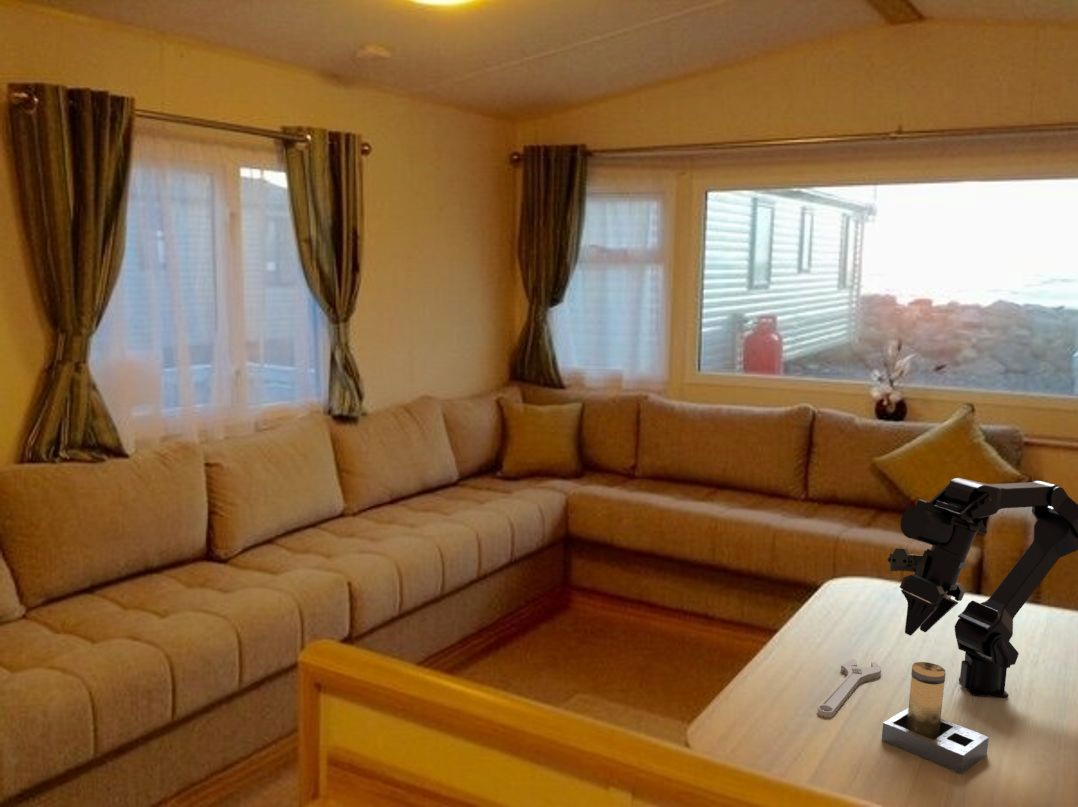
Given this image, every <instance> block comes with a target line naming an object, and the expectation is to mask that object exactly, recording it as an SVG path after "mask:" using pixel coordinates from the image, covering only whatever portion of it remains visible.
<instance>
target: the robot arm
mask: <svg viewBox="0 0 1078 807" xmlns="http://www.w3.org/2000/svg"><path fill="white" fill-rule="evenodd" d="M1011 508H1012V509H1014V508H1015V509H1016V508H1018V509H1019V508H1031V513H1032V515H1033V516H1034V518H1035V519H1036V521H1035V523H1034V524H1033V540H1032V542H1031V544H1029V546H1028V547H1027V549H1026V550H1025V552H1023V554H1022V555H1021V557H1020V558H1019V559H1018V561H1016V563H1015V564H1014V566H1013V567H1012V568H1011V569H1010V571H1009V572H1008V573H1007V575H1006V576H1005V577H1004V579H1003V580H1002V581H1001V582H1000V583H999V585H998V586H997V588H996V589H995V590H994V591H993V592H992V594H991V596H990V597H989V598H988V599H987V600H985V601H983V602H981V603H980V602H978V601H977V600H971V601H970V602H968V603H967V605H966V606H965V608H964V610H963V611H962V612H961V613H960V614H958V615H957V617H958V619H957V621H956V623H955V624H954V633H955V634H954V636H955V639H956V645H957V648H958V650H960V651H963V652H965V653H964V660H961V664H960V665H961V666H960V675H959V677H958V681H959V683H960V684H961V685H962V686H963V687H964V688H965V690H967V692H968V693H969V694H970V695H971V696H972V697H973V696H974V697H976V696H977V697H988V698H989V697H992V698H1009V693H1008V692H1007V691H1006V689H1005V688H1006V680H1007V679H1006V678H1007V672H1008V669H1010V668H1011V666H1013V665H1015V664H1016V662H1017V660H1018V657H1019V652H1018V651H1017V649H1016V648H1015V647H1014V645H1013V643H1011V641H1010V640H1011V639H1012V637H1013V636H1014V635H1013V634H1014V619H1015V617H1016V615H1017V614H1018V612H1019V611H1020V610H1021V609H1022V607H1023V606H1024V605H1025V604H1026V602H1027V601H1028V599H1029V598H1030V597H1031V595H1033V593H1034V591H1035V590H1037V588H1038V586H1039V585H1040V584H1041V582H1042V581H1043V580H1044V579H1045V578H1046V576H1047V575H1048V574H1049V572H1050V571H1051V570H1052V568H1054V566H1055V564H1056V563H1057V562H1058V560H1059V559H1061V558H1063V557H1065V556H1068V555H1070V554H1073V553H1074V552H1077V551H1078V503H1076V502H1075V501H1074V500H1073V499H1072V498H1071V497H1070V496H1069V495H1068V494H1067V493H1066V491H1065V489H1064V488H1063V487H1061V486H1060V485H1058V484H1054V483H1050V482H1047V481H1042V480H1034V481H1032V482H1030V481H1028V482H1011V483H1010V482H1009V483H985V482H980V481H976V480H972V479H966V478H961V477H956V478H955V477H954V478H953V479H950V481H949V483H948V485H946V486H945V487H944V488H943V489H942V490H941V491H940V492H939V493H937V494H936V495H935V496H934V497H933V498H932V499H931V500H929V501H926V500H922V499H918V500H916V503H915V505H913V506H910V507H909V508H908V509H907V510H906V511H905V512H904V513H903V514H902V516H901V519H900V525H899V526H900V531H901V533H902V534H903V535H904V536H905V538H907V539H911V540H914V541H917V542H921V543H924V544H928V545H931V547H930V548H927V549H925V550H924V552H923V554H913V553H912V554H911V553H909V550H908V549H907V548H897V547H896V548H895V549H894V551H893V552H890V553H889V557H888V558H887V562H888V563H889V571H890V572H898V571H899V572H912V573H914V574H909V575H907V576H904V577H903V578H902V579H901V583H900V585H899V588H900V589H901V590H900V591H901V594H902V595H903V597H905V599H906V601H907V609H906V618H905V626H904V633H905V634H906V635H908V636H913V635H914V633H915V632H916V631H918V630H920V631H921V632H923V633H927V632H928V631H929V630H930V629H931V628H932V627H933V626H935V625H936V624H937V623H938V622H939V621H940V620H941V619H942V618H943V617H944V616H946V615H947V614H948V613H949V612H950V611H952V609H953V608H954V607H956V606H958V604H959V602H960V601H962V600H963V598H964V595H965V593H966V589H965V587H964V585H963V584H962V583H960V582H958V579H959V576H960V574H961V571H962V570H963V569H966V567H967V566H968V565H967V564H968V562H966V560H967V557H968V555H969V553H970V550H971V547H972V545H973V543H974V540H975V538H976V536H977V533H979V534H982V535H987V533H988V532H987V528H986V527H985V525H984V523H983V518H986V517H991V516H994V515H996V514H997V513H998V512H999V511H1000V510H1002V509H1011ZM952 598H954V599H952Z"/></svg>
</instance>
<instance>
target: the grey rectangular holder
mask: <svg viewBox="0 0 1078 807" xmlns="http://www.w3.org/2000/svg"><path fill="white" fill-rule="evenodd" d="M908 709H909V706H908V707H907V708H905V709H904V710H902V711H901V712H898V713H897V714H895V715H894V716H892V717H890V718H889V719H887V720H885V721H883V723H882V732H881V733H882V734H881V741H883V742H884V743H887V744H889V745H892V746H894V747H896V748H898V749H901V750H904V751H906V752H908V753H910V754H913V755H915V756H918V757H920V758H922V759H925V760H927V761H930V762H932V763H934V764H936V765H940V766H941V767H944V768H946V769H948V770H951V771H953V772H954V773H955V772H956V773H958V774H960V775H962V774H964V773H965V772H967V770H969V769H970V768H972V767H973V766H975V765H976V764H977V763H978V762H980V761H981V760H983V759H984V758H985V757H986V756H988V755H987V754H988V748H989V746H988V745H989V740H990V739H989V738H990V737H989V736H987V735H984V734H981V733H979V732H977V731H974V730H972V729H968V728H966V727H965V726H961V725H958V724H956V723H954V722H951V721H948V720H945V719H943V718H941V721H940V732H939V737H938V738H936V739H935V740H932V739H930V738H927V737H925V736H922V735H920V734H917V733H915V732H913V731H910V730H908V729H907V720H908Z"/></svg>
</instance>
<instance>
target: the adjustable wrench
mask: <svg viewBox="0 0 1078 807" xmlns="http://www.w3.org/2000/svg"><path fill="white" fill-rule="evenodd" d="M840 672H841V673H843V674H845V677H844V678H843V680H841V682H840V683H838V685H837V686H836V687H834V689H833V690H832V691H831V692H830V693H829V694H828V696H826V697H825V699H823V701H822V702H821V703H820V704H819V705H818V706H817V712H818V713H817V714H818V715H819V716H820V715H821V716H820V717H823V716H825V717H824V718H832V717H834V716H835V715H836V713H837V712H838V711H839V709H840V708H841V707H842V706H843V705H844V704H845V702H846V701H847V700H848V699H849V697H850V696H851V695H852V694H853V693H854V691H855V690H854V689H856V688H857V687H858V686H859V685H861V684H862V683H864V682H867V681H870V680H875V679H878V678H880V677H881V674H882V667H881V665H879V664H878V663H877V662H875V661H871V662H870V666H868V667H863V666H858V663H857V659H850V660H847V661H845V662H844V663H843V664H840ZM850 694H851V695H850ZM849 695H850V696H849ZM848 696H849V697H848ZM846 699H847V700H846ZM845 700H846V701H845ZM844 701H845V702H844ZM841 705H842V706H841ZM840 706H841V707H840ZM823 710H824V711H823ZM837 710H838V711H837ZM836 711H837V712H836ZM833 715H834V716H833Z"/></svg>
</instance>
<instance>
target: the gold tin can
mask: <svg viewBox="0 0 1078 807" xmlns="http://www.w3.org/2000/svg"><path fill="white" fill-rule="evenodd" d="M910 675H911V677H910V678H911V679H910V687H909V699H908V707H909V709H908V720H907V729H908V730H910V731H913V732H915V733H917V734H920V735H922V736H925V737H927V738H930V739H932V740H935V739H936V738H938V737H939V732H940V721H941V719H942V709H943V699H944V698H943V697H944V689H945V681H946V670H945V669H944V668H943V666H941V665H938V664H935V663H932V662H928V661H927V662H925V661H918V662H914V663H913V664H912V667H911V674H910Z"/></svg>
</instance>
